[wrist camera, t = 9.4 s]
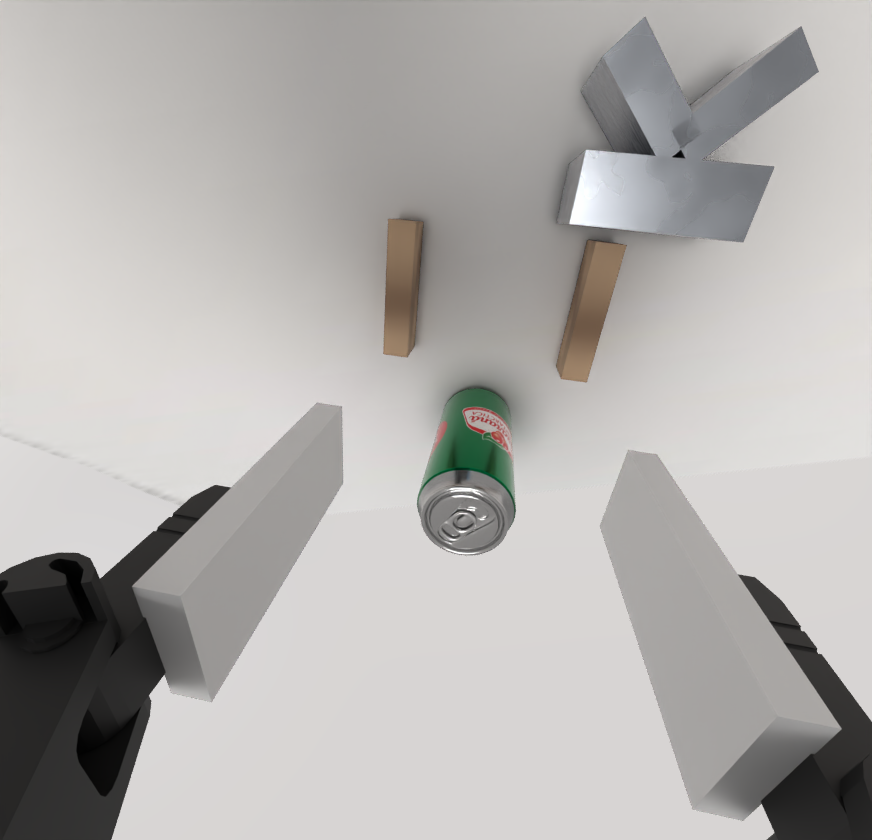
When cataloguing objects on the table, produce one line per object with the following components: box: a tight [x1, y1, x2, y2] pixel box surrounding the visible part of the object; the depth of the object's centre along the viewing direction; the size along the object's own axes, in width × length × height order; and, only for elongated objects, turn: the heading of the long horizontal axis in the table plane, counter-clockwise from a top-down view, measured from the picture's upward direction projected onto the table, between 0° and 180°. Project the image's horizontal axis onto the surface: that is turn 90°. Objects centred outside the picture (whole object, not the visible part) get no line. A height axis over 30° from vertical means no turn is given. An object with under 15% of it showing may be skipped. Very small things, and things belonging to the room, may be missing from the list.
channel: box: [383, 219, 627, 382], centre depth 25 cm, size 8×13×2 cm, turn 84°
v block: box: [557, 17, 819, 242], centre depth 19 cm, size 8×8×5 cm
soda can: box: [417, 388, 516, 555], centre depth 25 cm, size 5×5×12 cm
